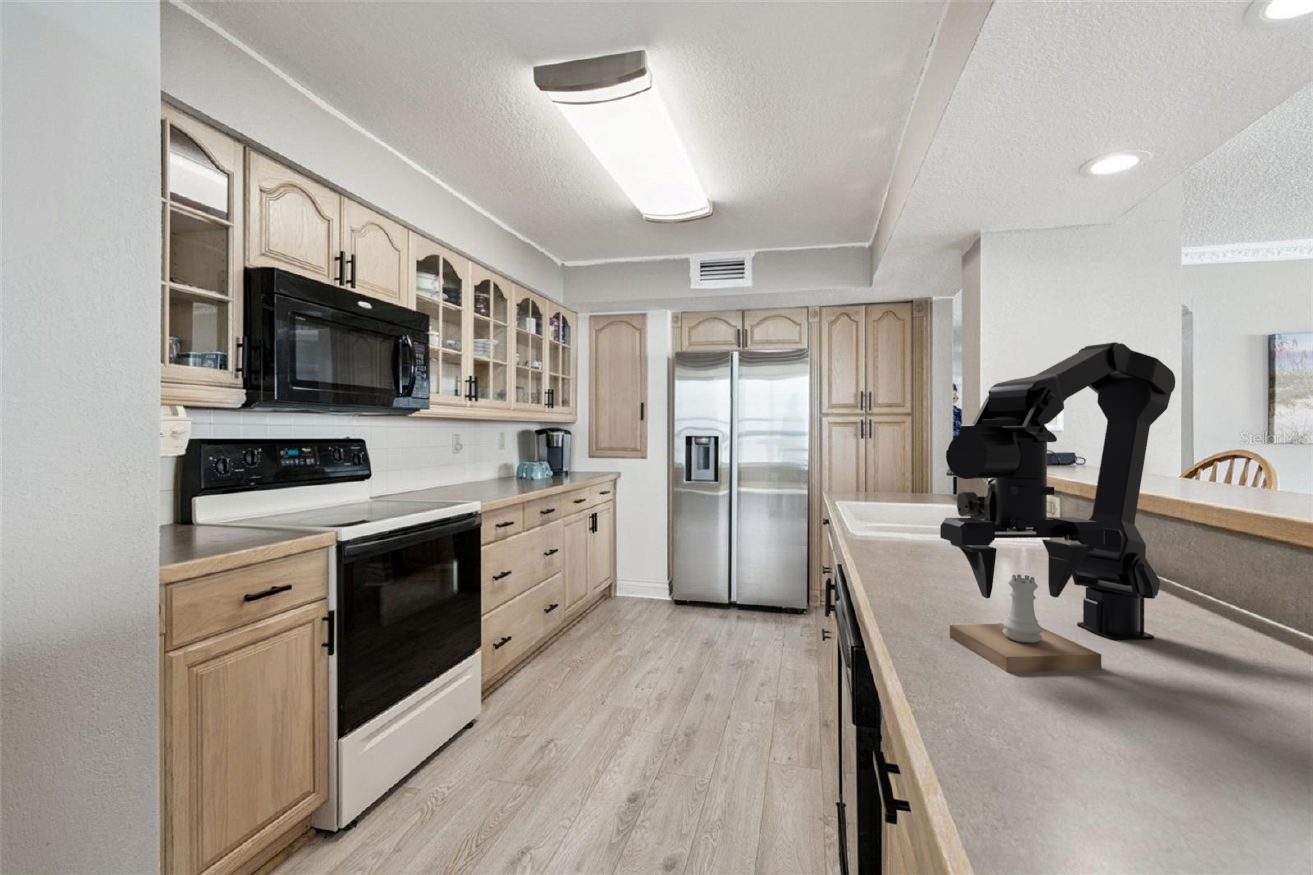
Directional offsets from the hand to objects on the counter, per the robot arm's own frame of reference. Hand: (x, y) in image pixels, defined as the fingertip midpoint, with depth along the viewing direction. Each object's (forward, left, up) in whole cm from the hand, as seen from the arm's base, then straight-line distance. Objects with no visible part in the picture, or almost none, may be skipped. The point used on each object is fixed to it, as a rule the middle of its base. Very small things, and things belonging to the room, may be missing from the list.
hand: (1020, 597), depth 77 cm
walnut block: (0, 0, -8) cm, 8 cm away
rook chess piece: (0, 0, -6) cm, 6 cm away
